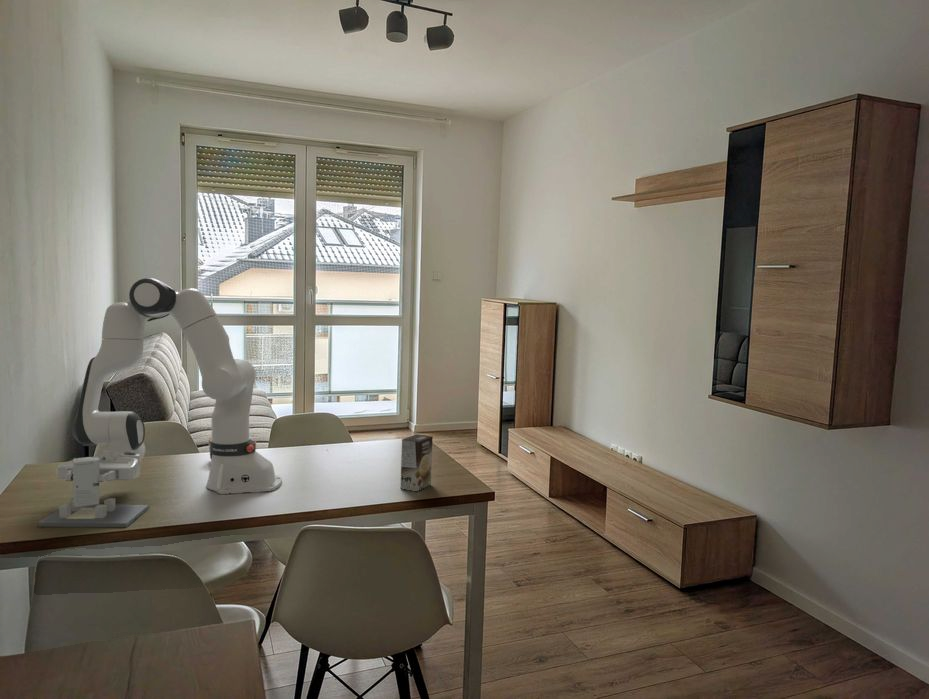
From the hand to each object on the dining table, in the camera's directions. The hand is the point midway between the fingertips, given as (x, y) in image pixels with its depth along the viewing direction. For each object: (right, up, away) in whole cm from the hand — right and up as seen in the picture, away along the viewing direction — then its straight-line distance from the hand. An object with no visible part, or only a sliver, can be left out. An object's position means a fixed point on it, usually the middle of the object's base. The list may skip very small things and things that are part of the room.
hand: (84, 478), depth 173 cm
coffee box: (+85, -10, +36) cm, 93 cm away
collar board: (+2, -11, +2) cm, 11 cm away
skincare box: (0, -7, +2) cm, 7 cm away
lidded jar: (+15, -6, +60) cm, 62 cm away
